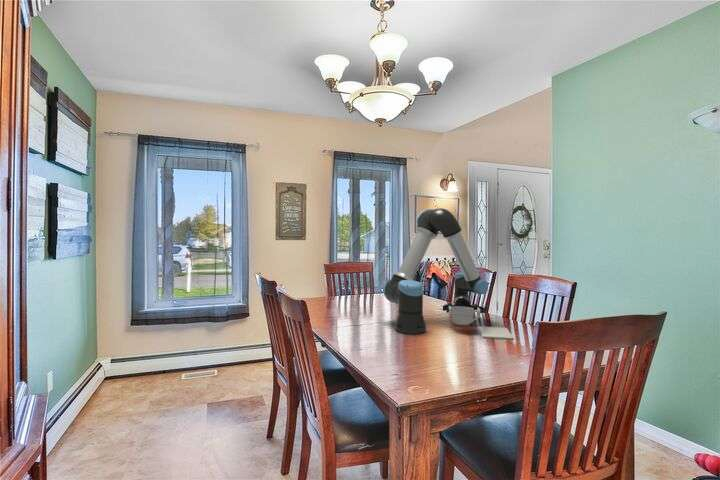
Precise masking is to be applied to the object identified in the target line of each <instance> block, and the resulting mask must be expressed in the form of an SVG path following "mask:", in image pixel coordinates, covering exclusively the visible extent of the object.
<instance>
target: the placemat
mask: <svg viewBox="0 0 720 480" xmlns="http://www.w3.org/2000/svg"><path fill="white" fill-rule="evenodd" d="M478 329H479V332H480V333H479V334H480V336H481V337H482V339H492V338H496V339H495V340H511V341H514V340H515V338H514V337H513V335H512V334H511V332H510V331H509V329H508V327H504V326H502V327H500V326H483V325H482V326H480V325H479V326H478Z"/></svg>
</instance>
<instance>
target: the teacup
mask: <svg viewBox="0 0 720 480" xmlns="http://www.w3.org/2000/svg"><path fill="white" fill-rule="evenodd" d="M475 313H476V314H477V313H478V314H477V316H476V317H474V315H475ZM480 317H481V313H480V311H478V310H474V308H470V307H459V306H456V307H451V314H450V319H451V321H452V322H453V323H454V324H455V325H460V326H469V325H471V324H472V323H473V322H475V321H476V320H478V319H479V318H480Z"/></svg>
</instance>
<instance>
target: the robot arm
mask: <svg viewBox="0 0 720 480" xmlns="http://www.w3.org/2000/svg"><path fill="white" fill-rule="evenodd" d="M416 223H417V224H416V228H415V230H416V234H415V236H414V238H413V240H412V242H411V245H410V246H409V248H408V249H407V252H406V254H405V257H404V259H403V261H402V263H401V265H400V267H399V269H398V271H397V272H395V273H393V275H392V277H391V279H389V280H387V281H386V282H385V284H384V285H383V288H382V293H383V295H384V297H385V299H386V300H387V301H389V302H390V303H392V304H395V305H398V306H397V307H398V308H397V310H398V312H397V313H398V315H397V317H396V320H395V322H394V323H395V324H394V331H396V332H397V333H401V334H404V335H405V334H408V335H417V334H418V335H419V334H423V333H426V332H427V324H426V321H425V317H424V311H423V309H424V308H423V307H424V303H423V302H424V297H423V295H424V288H423V284H422V283H421V282H419V281H417V280H414V278H415V276H416V274H417V272H418V269H419V267H420V265H421V264H422V261H423V259H424V256H425V255H426V253H427V250H428V249H429V246H430V244H431V242H432V241H433V239H436V238H437V236H438V235H439V232H440V233H441V234H442V236H443V238H444V239H446V241H447V242H448V245H449V247H450V249H451V251H452V254H453V256H454V258H455V259H456V261H457V265H458V267H459V269H460V272H456V273H455V274H454V290H453V291H454V297H453V303H454V304H453V303H452V302H449V303H447V304H444V305H442V311H443V312H445V311H446V314H448V315H451V307H456V306H459V307H470V308H474V310H478V311H480V314H485V313H486V307H483V306H482V305H481V306H480V305H478V304H476V303H475V304H473V305H472V304H471V303H470V301H469V293H472V294H475V295H484V294H486V293H487V292H488V290H489V283H488V282H487V281H486V280H484V279H482V277H481V274H480V273H479V271H478V269H477V266H476V263H475V261H474V260H473V257H472V255H471V253H470V251H469V248H468V246H467V243H466V242H465V239H464V237H463V235H462V226H461V225H460V223H459V222H458V220H457V218H456V217H455V216H454V214H453V212H451V211H450V210H448V209H446V208H443V207H442V208H435V209H434V208H432V209H430V208H429V209H426V210H423V211H421V213H419V214H418V216H417V218H416ZM476 314H477V315H478V313H477V312H476Z"/></svg>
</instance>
